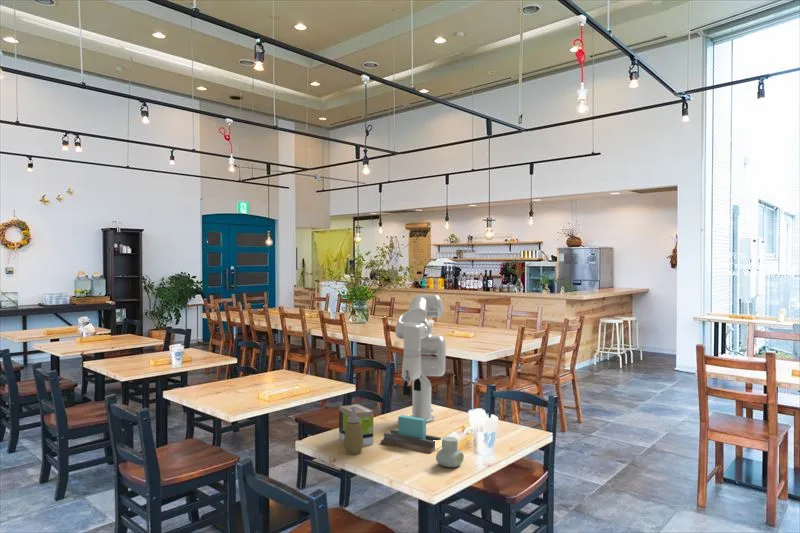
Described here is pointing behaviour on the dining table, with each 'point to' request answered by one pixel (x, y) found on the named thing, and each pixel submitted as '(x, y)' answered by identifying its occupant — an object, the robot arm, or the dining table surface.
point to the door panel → (412, 427)
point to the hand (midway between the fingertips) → (412, 392)
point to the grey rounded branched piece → (449, 453)
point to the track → (410, 442)
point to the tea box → (364, 419)
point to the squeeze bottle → (353, 434)
